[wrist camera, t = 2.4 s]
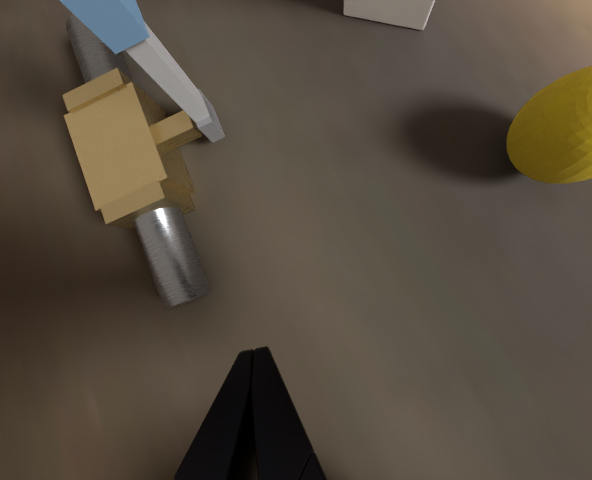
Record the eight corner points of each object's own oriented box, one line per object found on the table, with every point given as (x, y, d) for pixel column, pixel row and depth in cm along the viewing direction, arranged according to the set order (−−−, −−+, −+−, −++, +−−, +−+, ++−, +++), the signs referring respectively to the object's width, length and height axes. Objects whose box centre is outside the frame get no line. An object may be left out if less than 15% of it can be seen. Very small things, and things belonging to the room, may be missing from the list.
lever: (239, 134, 22) (-163, -414, 4) (201, 152, 22) (-331, -296, 4) (224, 98, 22) (-206, -553, 5) (187, 115, 22) (-358, -436, 5)
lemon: (466, 145, 21) (545, 74, 13) (538, 100, 21) (663, 0, 13) (515, 212, 20) (630, 180, 13) (591, 166, 20) (758, 104, 12)
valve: (262, 272, 22) (245, 274, 18) (167, 311, 23) (130, 322, 19) (161, 17, 25) (127, -33, 21) (79, 59, 25) (29, 19, 21)
